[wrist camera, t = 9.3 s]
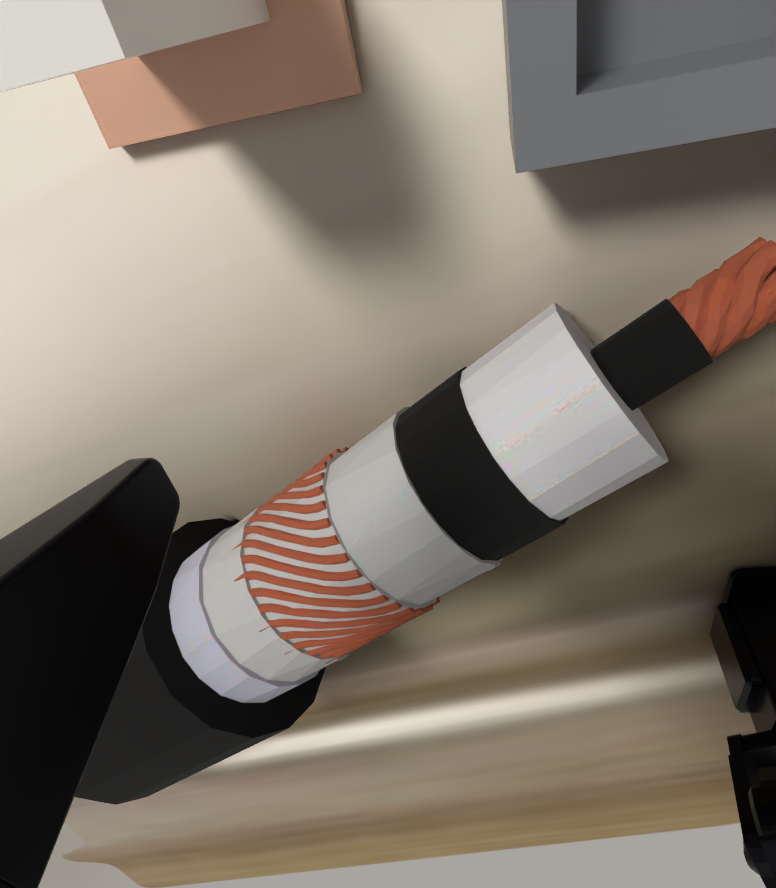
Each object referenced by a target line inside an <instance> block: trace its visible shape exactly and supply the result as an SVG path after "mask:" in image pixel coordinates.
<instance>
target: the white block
mask: <svg viewBox="0 0 776 888" xmlns="http://www.w3.org/2000/svg"><path fill="white" fill-rule="evenodd" d="M267 21H271V20H270V16H269V13H268V9H267V5H266V2H265V0H0V92H3V91H7V90H11V89H14V88H18V87H22V86H26V85H30V84H34V83H37V82H41V81H45V80H49V79H53V78H56V77H60V76H64V75H68V74H72V73H76V72H79V71H83V70H87V69H91V68H95V67H99V66H102V65H106V64H110V63H114V62H118V61H121V60H125V59H129V58H133V57H137V56H140V55H144V54H148V53H152V52H155V51H159V50H163V49H167V48H170V47H174V46H178V45H181V44H185V43H189V42H193V41H196V40H200V39H204V38H208V37H211V36H215V35H219V34H223V33H226V32H230V31H234V30H237V29H241V28H245V27H249V26H252V25H256V24H260V23H264V22H267Z"/></svg>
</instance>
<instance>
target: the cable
mask: <svg viewBox="0 0 776 888" xmlns="http://www.w3.org/2000/svg"><path fill="white" fill-rule="evenodd" d="M775 321H776V243H775V242H773V241H771V240H770V241H768V242H767V241H766V240H765V239H763V238H761V237H759V238H758V239H756V240H755V241H754V242H753V243H751V244H750V245H749V246H747V247H746V248H745V249H743V250H741V251H740V252H738V253H737V254H735V255H734V256H732V257H731V258H729V259H727V260H726V261H724V262H723V264H722V266H721V267H720V269H715V270H713V271H712V272H710V273H709V274H707V275H705V276H704V277H702V278H701V279H699V280H698V281H696V282H695V284H694V285H693V286H692V287H691V288H690V289H687V290H683V291H679V292H678V293H677V294H675V295H674V296H673V297H672V298H671V299H669V300H668V299H665V300H663V301H662V302H660V303H659V304H658V305H656V306H655V307H653V308H652V309H650V310H649V311H647V312H646V313H644V314H643V315H641V316H640V317H639V318H637V319H636V320H634V321H633V322H631V323H630V324H628V325H627V326H625V327H624V328H622V329H621V330H619V331H618V332H617V333H615V334H614V335H612V336H611V337H609V338H608V339H606V340H605V341H603V342H602V343H600V344H599V345H597V346H596V347H594V345H593V344H592V343H591V342H590V340H589V339H588V338H587V337H586V335H585V334H584V333H583V331H582V330H581V329H580V328H579V326H578V325H577V324H576V323H575V321H574V320H573V319H572V318H571V317H570V316H569V314H568V313H567V312H566V311H565V310H564V309H563V308H562V307H561V306H559V305H558V304H556V303H553V304H552V305H551V306H549V307H548V308H547V309H545V310H544V311H542V312H541V313H540V314H538V315H537V316H536V317H534V318H533V319H532V320H530V321H529V322H528V323H526V324H525V325H524V326H522V327H521V328H520V329H518V330H517V331H516V332H514V333H513V334H512V335H510V336H509V337H508V338H506V339H505V340H504V341H502V342H501V343H500V344H498V345H497V346H496V347H494V348H493V349H492V350H490V351H489V352H488V353H486V354H485V355H484V356H482V357H481V358H480V359H478V360H477V361H476V362H474V363H473V364H472V365H470V366H469V367H468V368H467V367H464V368H463V369H461V370H459V371H458V372H457V373H455V374H454V375H453V376H451V377H450V378H449V379H447V380H446V381H445V382H443V383H442V384H441V385H439V386H438V387H437V388H435V389H434V390H433V391H431V392H430V393H429V394H427V395H426V396H425V397H423V398H422V399H421V400H419V401H418V402H417V403H415V404H414V405H413V406H411V407H405V408H403V409H402V410H400V411H399V412H397V413H396V414H395V415H393V416H392V417H391V418H389V419H388V420H387V421H385V422H384V423H383V424H381V425H380V426H379V427H377V428H376V429H375V430H373V431H372V432H371V433H369V434H368V435H367V436H365V437H364V438H363V439H362V440H360V441H359V442H358V443H356V444H355V445H354V446H352V447H351V448H350V449H349V448H347V447H345V448H344V449H343V450H342V451H340V449H336V450H335V451H334V452H333V453H332V454H329V455H328V456H326V457H325V458H324V459H323V460H321V461H320V462H319V463H318V464H316V465H315V466H314V467H313V468H312V469H311V470H309V471H308V472H306V473H305V474H303V475H302V476H301V477H300V478H299V479H297V481H296V482H295V483H292V484H290V485H289V486H287V487H286V488H285V489H284V490H283V492H282V493H281V494H277V495H276V496H274V497H273V498H272V499H271V500H270V501H269V502H268V503H266V504H265V505H263V506H260V507H258V508H257V509H255V510H254V511H253V512H251V513H250V514H249V515H247V516H246V517H245V518H244V519H242V520H241V521H240V522H238V523H235V522H232V521H228V520H225V519H222V518H219V519H211V520H203V521H195V522H188V523H186V524H185V525H184V526H182V527H181V528H179V529H178V530H177V531H175V532H174V533H172V536H171V540H170V543H169V547H168V550H167V554H166V557H165V561H164V564H163V568H162V571H161V575H160V578H159V582H158V585H157V588H156V591H155V594H154V597H153V599H152V602H151V605H150V607H149V610H148V612H147V615H146V617H145V620H144V622H143V625H142V627H141V630H140V632H139V635H138V637H137V640H136V642H135V645H134V647H133V650H132V653H131V655H130V658H129V660H128V663H127V665H126V668H125V670H124V673H123V675H122V678H121V680H120V683H119V685H118V688H117V690H116V693H115V695H114V698H113V700H112V703H111V705H110V708H109V710H108V713H107V715H106V718H105V720H104V723H103V725H102V728H101V730H100V733H99V735H98V738H97V741H96V743H95V746H94V748H93V751H92V753H91V756H90V758H89V761H88V763H87V766H86V768H85V771H84V773H83V776H82V778H81V781H80V783H79V786H78V788H77V791H76V793H75V797H78V798H83V799H88V800H94V801H99V802H105V803H110V804H115V805H116V804H120V803H124V802H128V801H132V800H136V799H140V798H144V797H147V796H149V795H152V794H154V793H156V792H158V791H160V790H162V789H164V788H166V787H168V786H170V785H172V784H174V783H176V782H178V781H180V780H182V779H185V778H187V777H189V776H191V775H193V774H195V773H197V772H199V771H201V770H203V769H205V768H207V767H209V766H211V765H213V764H216V763H218V762H220V761H222V760H224V759H226V758H228V757H230V756H232V755H234V754H236V753H238V752H240V751H242V750H244V749H247V748H249V747H251V746H253V745H255V744H257V743H259V742H261V741H263V740H265V739H267V738H269V737H271V736H273V735H275V734H277V733H280V732H282V731H284V730H286V729H288V728H289V727H290V726H291V725H292V724H293V723H294V722H295V721H296V720H297V719H298V718H299V717H300V716H301V715H302V714H303V713H304V712H305V711H306V710H307V709H308V708H309V707H310V706H311V704H312V703H313V702H314V700H315V697H316V694H317V691H318V688H319V685H320V682H321V679H322V676H323V673H324V670H325V667H326V666H328V665H330V664H332V663H334V662H336V661H338V660H339V661H340V660H342V659H344V658H346V657H348V656H349V654H350V653H351V652H352V651H354V650H356V649H358V648H360V647H361V646H363V645H365V644H367V643H368V642H370V641H372V640H374V639H376V638H378V637H380V636H382V635H384V634H386V633H388V632H389V631H391V630H393V629H394V628H396V627H398V626H400V625H402V624H404V623H406V622H408V621H409V620H412V619H414V618H416V617H418V616H420V615H422V614H424V613H426V612H428V611H430V610H432V609H433V606H434V605H436V604H437V603H439V602H440V600H439V597H440V596H441V595H443V594H444V593H446V592H448V591H450V590H452V589H454V588H456V587H458V586H459V585H461V584H463V583H465V582H467V581H469V580H471V579H472V578H474V577H476V576H478V575H480V574H482V573H484V572H487V571H490V570H492V569H494V568H495V567H497V566H499V565H501V563H500V562H501V561H502V560H503V559H504V557H505V556H507V555H509V554H511V553H513V552H514V551H516V550H518V549H520V548H522V547H524V546H525V545H527V544H529V543H531V542H533V541H534V540H536V539H538V538H540V537H542V536H544V535H545V534H547V533H549V532H551V531H553V530H554V529H556V528H558V527H560V526H562V525H564V524H565V522H566V521H567V519H568V517H569V516H570V515H572V514H574V513H575V512H577V511H579V510H581V509H583V508H585V507H586V506H588V505H590V504H592V503H594V502H596V501H597V500H599V499H601V498H603V497H605V496H606V495H608V494H610V493H612V492H614V491H616V490H617V489H619V488H621V487H623V486H625V485H627V484H628V483H630V482H632V481H634V480H636V479H638V478H639V477H641V476H643V475H645V474H647V473H649V472H650V471H652V470H654V469H656V468H658V467H660V466H661V465H663V464H665V463H667V462H669V461H668V458H667V455H666V453H665V450H664V449H663V447H662V445H661V443H660V442H659V440H658V438H657V436H656V435H655V433H654V431H653V430H652V428H651V426H650V425H649V423H648V422H647V420H646V419H645V417H644V415H643V414H642V412H641V411H640V409H639V408H638V407H640V406H641V405H643V404H645V403H646V402H648V401H650V400H651V399H653V398H654V397H656V396H658V395H659V394H661V393H663V392H664V391H666V390H668V389H669V388H671V387H673V386H674V385H676V384H678V383H679V382H681V381H682V380H684V379H686V378H687V377H689V376H691V375H692V374H694V373H696V372H697V371H699V370H701V369H702V368H704V367H706V366H707V365H709V364H710V363H712V362H713V361H712V358H713V357H715V356H717V355H719V354H721V353H723V352H725V351H727V350H728V349H729V348H730V347H731V346H732V345H733V344H734V343H738V342H740V341H742V340H745V339H747V338H749V337H751V336H753V335H754V334H755V333H757V332H758V331H759V330H761V329H762V328H763V327H764V326H765V325H767V324H771V323H773V322H775Z"/></svg>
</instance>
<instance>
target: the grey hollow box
mask: <svg viewBox="0 0 776 888" xmlns="http://www.w3.org/2000/svg"><path fill="white" fill-rule="evenodd" d="M502 9H503V25H504V41H505V57H506V74H507V90H508V106H509V122H510V139H511V146H512V152H513V158H514V164H515V170H516V173H521V172H527V171H533V170H538V169H544V168H550V167H555V166H561V165H567V164H572V163H578V162H584V161H589V160H595V159H601V158H606V157H612V156H618V155H623V154H629V153H635V152H640V151H646V150H652V149H657V148H663V147H669V146H674V145H680V144H686V143H691V142H697V141H703V140H708V139H714V138H720V137H725V136H731V135H737V134H743V133H748V132H754V131H760V130H765V129H771V128H776V0H502Z"/></svg>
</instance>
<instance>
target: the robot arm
mask: <svg viewBox="0 0 776 888" xmlns="http://www.w3.org/2000/svg"><path fill="white" fill-rule="evenodd" d="M179 506H180V502H179V496H178V493H177V491H176V490H175V488H174V486H173V484H172V483H171V481H170V479H169V477H168V476H167V474H166V472H165V470H164V469H163V467H162V465H161V464H160V462H158V461H157V460H156V459H154V458H138V459H130V460H128V461H126V462H124V463H123V464H121V465H119V466H118V467H116V468H115V469H113V470H111V471H110V472H108V473H106V474H105V475H103V476H102V477H100V478H98V479H97V480H95V481H94V482H92V483H90V484H89V485H87V486H86V487H84V488H82V489H81V490H79V491H77V492H76V493H74V494H73V495H71V496H69V497H68V498H66V499H65V500H63V501H61V502H60V503H58V504H57V505H55V506H53V507H52V508H50V509H49V510H47V511H45V512H44V513H42V514H40V515H39V516H37V517H36V518H34V519H32V520H31V521H29V522H28V523H26V524H24V525H23V526H21V527H20V528H18V529H16V530H15V531H13V532H11V533H10V534H8V535H7V536H5V537H3V538H2V539H0V888H38V886H39V884H40V881H41V878H42V876H43V874H44V871H45V869H46V866H47V864H48V861H49V859H50V856H51V854H52V851H53V849H54V846H55V844H56V841H57V839H58V836H59V834H60V831H61V828H62V826H63V824H64V821H65V818H66V816H67V813H68V811H69V808H70V806H71V803H72V801H73V798H74V796H75V793H76V791H77V788H78V786H79V783H80V781H81V778H82V776H83V773H84V771H85V768H86V766H87V763H88V761H89V758H90V756H91V753H92V751H93V748H94V746H95V743H96V741H97V738H98V735H99V733H100V730H101V728H102V725H103V723H104V720H105V718H106V715H107V713H108V710H109V708H110V705H111V703H112V700H113V698H114V695H115V693H116V690H117V688H118V685H119V683H120V680H121V678H122V675H123V673H124V670H125V668H126V665H127V663H128V660H129V658H130V655H131V653H132V650H133V647H134V645H135V642H136V640H137V637H138V635H139V632H140V630H141V627H142V625H143V622H144V620H145V617H146V615H147V612H148V610H149V607H150V605H151V602H152V599H153V597H154V594H155V591H156V588H157V585H158V582H159V578H160V575H161V571H162V568H163V564H164V561H165V557H166V554H167V550H168V547H169V543H170V540H171V536H172V533H173V529H174V526H175V522H176V519H177V515H178V512H179ZM710 635H711V638H712V643H713V646H714V649H715V650H716V653H717V656H718V659H719V662H720V665H721V668H722V670H723V673H724V676H725V679H726V682H727V685H728V688H729V691H730V694H731V697H732V700H733V703H734V706H735V708H736V709H738V710H739V711H740V712H741V713H750V715H751V718H752V720H753V723H754V726H755V729H756V732H757V733H753V734H748V735H743V736H742V735H741V734H737V735H732V736H727V740H728V745H729V751H730V755H729V756H728V757H729V763H730V769H731V774H732V780H733V785H734V791H735V796H736V801H737V807H738V812H739V818H740V823H741V829H742V833H743V840H744V841H743V844H744V855H745V858H746V861H747V863H748V865H749V867H750V868H751V869H752V870H754V871H755V872H756V873H757V874H759V875H760V876H761V878H762V880H763V882H764V884H765V886H766V888H776V568H743V569H737V570H735V571H733V572H732V573H731V574H730V576H729V579H728V583H727V587H726V591H725V594H724V598H723V602H722V603H720V604H719V606H718V607H717V610H716V613H715V617H714V621H713V625H712V629H711V633H710Z"/></svg>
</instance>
